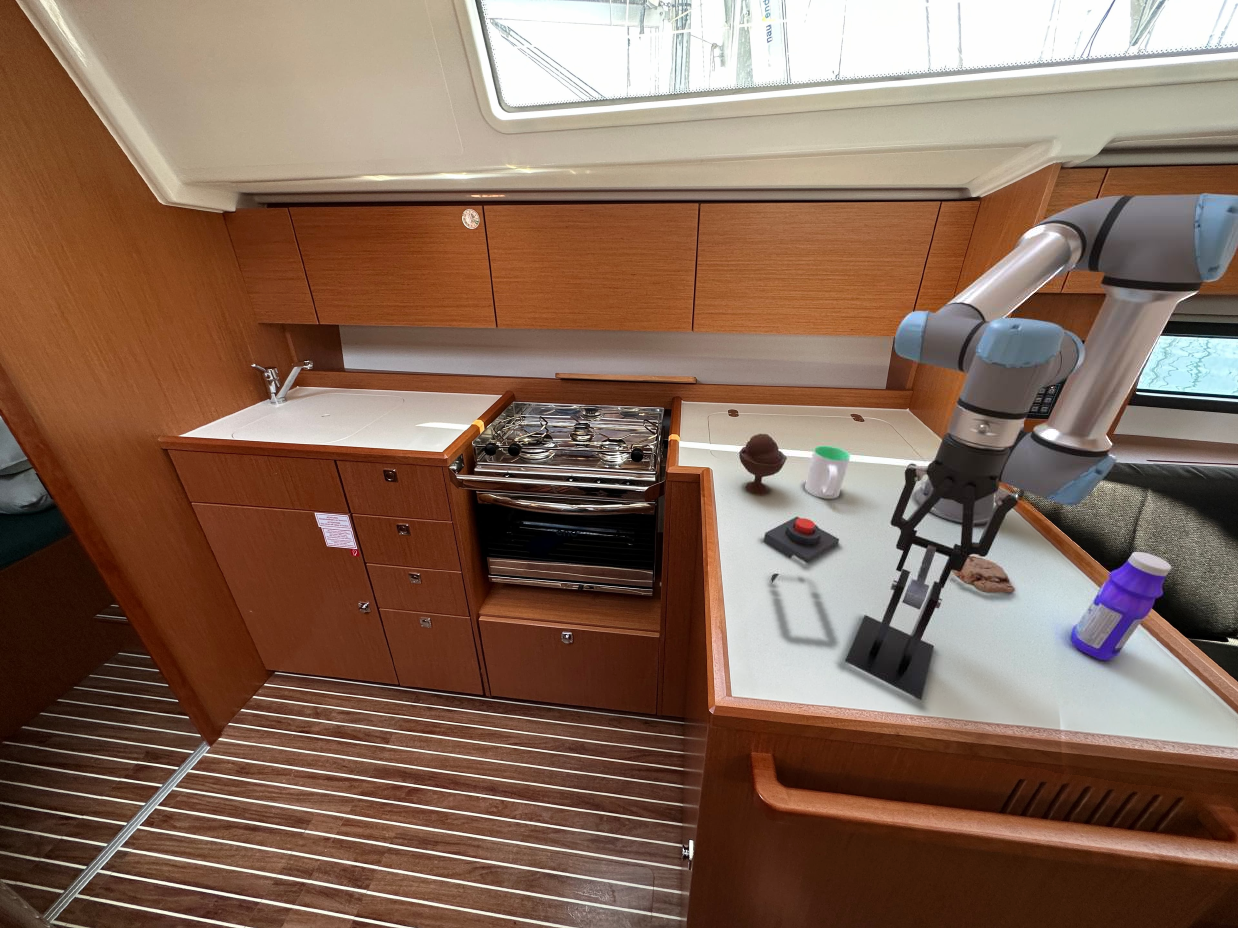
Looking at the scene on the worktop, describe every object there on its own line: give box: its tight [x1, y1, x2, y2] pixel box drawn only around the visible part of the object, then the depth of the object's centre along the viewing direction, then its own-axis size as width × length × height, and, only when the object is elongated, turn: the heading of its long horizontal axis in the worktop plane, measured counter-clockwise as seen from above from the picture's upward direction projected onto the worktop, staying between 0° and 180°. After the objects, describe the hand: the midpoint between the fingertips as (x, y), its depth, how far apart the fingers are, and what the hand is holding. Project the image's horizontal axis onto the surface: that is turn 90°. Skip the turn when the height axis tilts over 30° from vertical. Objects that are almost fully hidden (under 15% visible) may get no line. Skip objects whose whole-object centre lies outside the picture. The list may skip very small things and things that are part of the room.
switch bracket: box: [844, 568, 943, 701], centre depth 68 cm, size 12×10×15 cm
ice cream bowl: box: [738, 433, 788, 495], centre depth 113 cm, size 11×11×15 cm
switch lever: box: [902, 535, 953, 611], centre depth 68 cm, size 12×5×2 cm, turn 142°
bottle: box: [1070, 551, 1172, 661], centre depth 71 cm, size 7×6×17 cm
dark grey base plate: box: [763, 516, 840, 563], centre depth 96 cm, size 11×10×4 cm
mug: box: [804, 445, 851, 500], centre depth 113 cm, size 12×8×10 cm
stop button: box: [794, 517, 816, 535], centre depth 95 cm, size 4×4×2 cm
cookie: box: [951, 555, 1016, 594], centre depth 88 cm, size 10×11×3 cm
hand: (920, 574), depth 74 cm, fingers closed on switch lever, 5 cm apart
